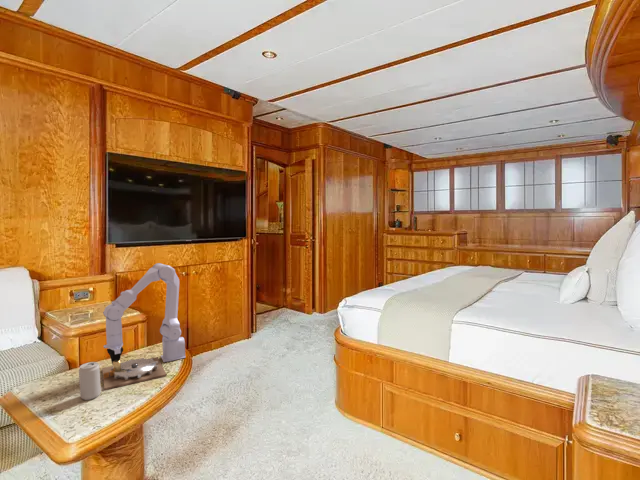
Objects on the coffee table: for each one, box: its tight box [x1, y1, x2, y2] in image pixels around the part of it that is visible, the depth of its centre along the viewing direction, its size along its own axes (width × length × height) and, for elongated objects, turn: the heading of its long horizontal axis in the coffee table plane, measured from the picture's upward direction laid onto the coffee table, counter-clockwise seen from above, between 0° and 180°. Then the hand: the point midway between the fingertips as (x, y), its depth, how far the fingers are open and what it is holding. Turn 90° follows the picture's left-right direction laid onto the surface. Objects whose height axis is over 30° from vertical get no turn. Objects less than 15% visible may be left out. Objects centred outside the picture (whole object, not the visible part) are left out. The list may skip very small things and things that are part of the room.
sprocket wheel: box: [110, 357, 158, 380], centre depth 154 cm, size 18×18×6 cm
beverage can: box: [78, 361, 102, 401], centre depth 134 cm, size 6×6×12 cm
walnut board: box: [101, 356, 167, 391], centre depth 154 cm, size 22×21×2 cm
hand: (115, 365), depth 153 cm, fingers closed
